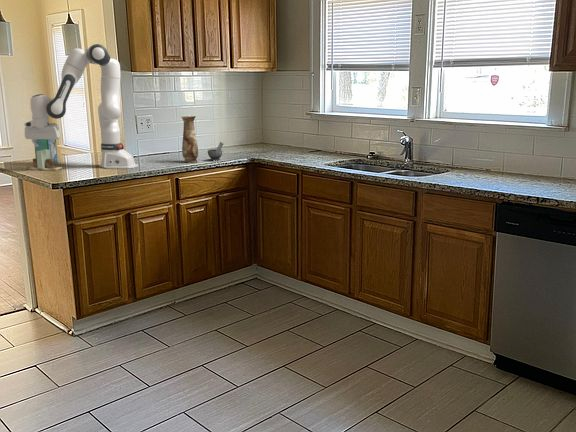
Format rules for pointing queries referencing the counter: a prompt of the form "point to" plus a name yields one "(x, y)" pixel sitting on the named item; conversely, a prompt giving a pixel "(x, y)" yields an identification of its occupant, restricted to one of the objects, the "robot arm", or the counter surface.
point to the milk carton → (44, 145)
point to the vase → (189, 139)
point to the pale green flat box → (42, 158)
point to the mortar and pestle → (216, 152)
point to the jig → (48, 166)
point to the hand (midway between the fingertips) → (43, 146)
